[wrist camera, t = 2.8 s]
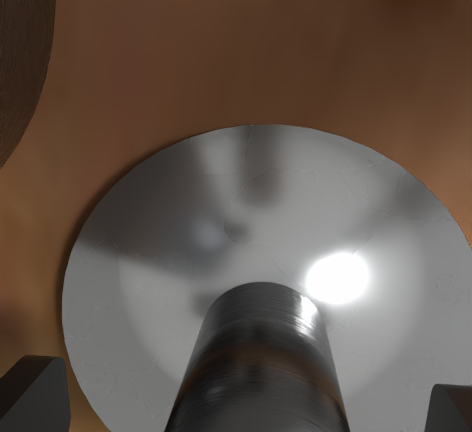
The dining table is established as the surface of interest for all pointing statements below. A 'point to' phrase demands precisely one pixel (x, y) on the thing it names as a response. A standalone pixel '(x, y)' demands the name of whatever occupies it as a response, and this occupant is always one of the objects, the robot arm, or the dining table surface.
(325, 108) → the dining table surface
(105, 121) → the dining table surface
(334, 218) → the lid
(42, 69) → the pot
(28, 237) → the dining table surface
